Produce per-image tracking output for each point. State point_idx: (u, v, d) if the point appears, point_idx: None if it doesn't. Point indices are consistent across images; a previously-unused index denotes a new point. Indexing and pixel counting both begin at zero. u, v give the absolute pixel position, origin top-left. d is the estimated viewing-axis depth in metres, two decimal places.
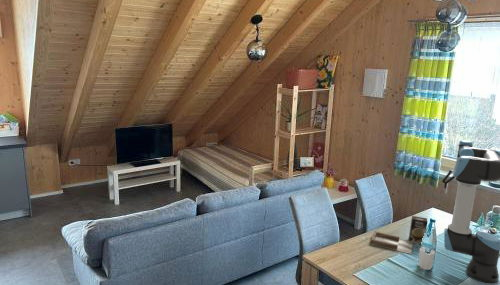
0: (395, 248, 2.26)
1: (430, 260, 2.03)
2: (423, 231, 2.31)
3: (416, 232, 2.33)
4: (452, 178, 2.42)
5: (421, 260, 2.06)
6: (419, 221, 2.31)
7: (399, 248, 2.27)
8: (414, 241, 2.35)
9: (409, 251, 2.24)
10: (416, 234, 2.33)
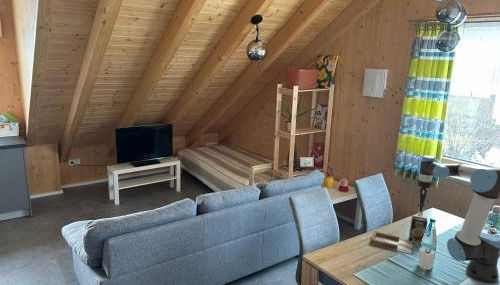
0: (395, 248, 2.26)
1: (430, 260, 2.03)
2: (423, 231, 2.31)
3: (416, 232, 2.33)
4: None
5: (421, 260, 2.06)
6: (419, 221, 2.31)
7: (399, 248, 2.27)
8: (414, 241, 2.35)
9: (409, 251, 2.24)
10: (416, 234, 2.33)
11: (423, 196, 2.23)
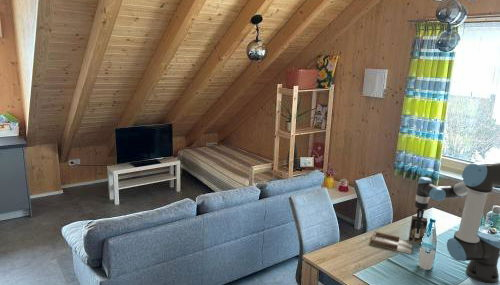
0: (395, 248, 2.26)
1: (430, 260, 2.03)
2: (423, 231, 2.31)
3: None
4: None
5: (421, 260, 2.06)
6: None
7: (399, 248, 2.27)
8: (414, 241, 2.35)
9: (409, 251, 2.24)
10: None
11: (420, 219, 2.28)
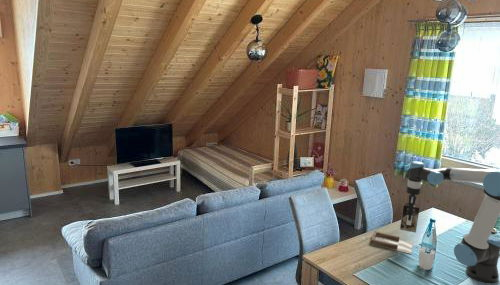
0: (395, 248, 2.26)
1: (430, 260, 2.03)
2: (415, 218, 2.21)
3: None
4: None
5: (421, 260, 2.06)
6: None
7: (399, 248, 2.27)
8: (406, 228, 2.25)
9: (409, 251, 2.24)
10: None
11: (411, 205, 2.17)
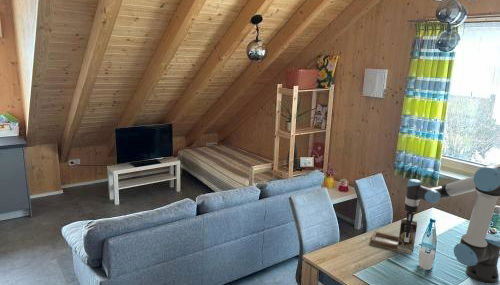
0: (395, 248, 2.26)
1: (430, 260, 2.03)
2: (412, 235, 2.24)
3: None
4: None
5: (421, 260, 2.06)
6: None
7: (399, 248, 2.27)
8: (403, 245, 2.27)
9: (409, 251, 2.24)
10: None
11: (409, 222, 2.20)
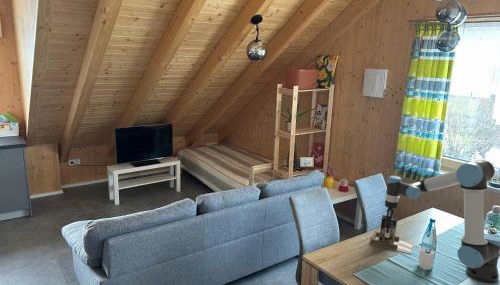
0: (395, 248, 2.26)
1: (430, 260, 2.03)
2: (393, 231, 2.28)
3: None
4: None
5: (421, 260, 2.06)
6: None
7: (399, 248, 2.27)
8: (384, 241, 2.32)
9: (409, 251, 2.24)
10: None
11: (389, 218, 2.25)
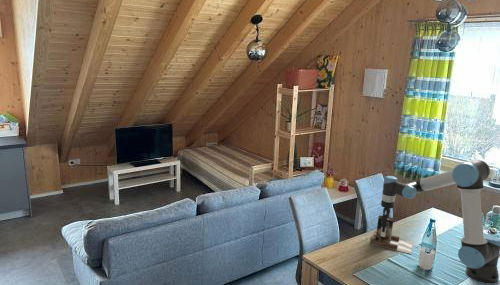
0: (395, 248, 2.26)
1: (430, 260, 2.03)
2: (389, 231, 2.29)
3: None
4: None
5: (421, 260, 2.06)
6: None
7: (399, 248, 2.27)
8: None
9: (409, 251, 2.24)
10: None
11: (385, 217, 2.24)
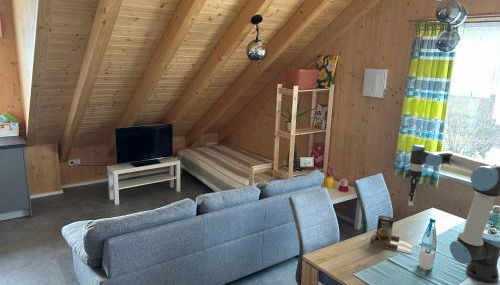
0: (395, 248, 2.26)
1: (430, 260, 2.03)
2: (389, 231, 2.29)
3: (382, 231, 2.31)
4: None
5: (421, 260, 2.06)
6: (385, 220, 2.29)
7: (399, 248, 2.27)
8: None
9: (409, 251, 2.24)
10: (382, 234, 2.31)
11: (413, 185, 2.22)
